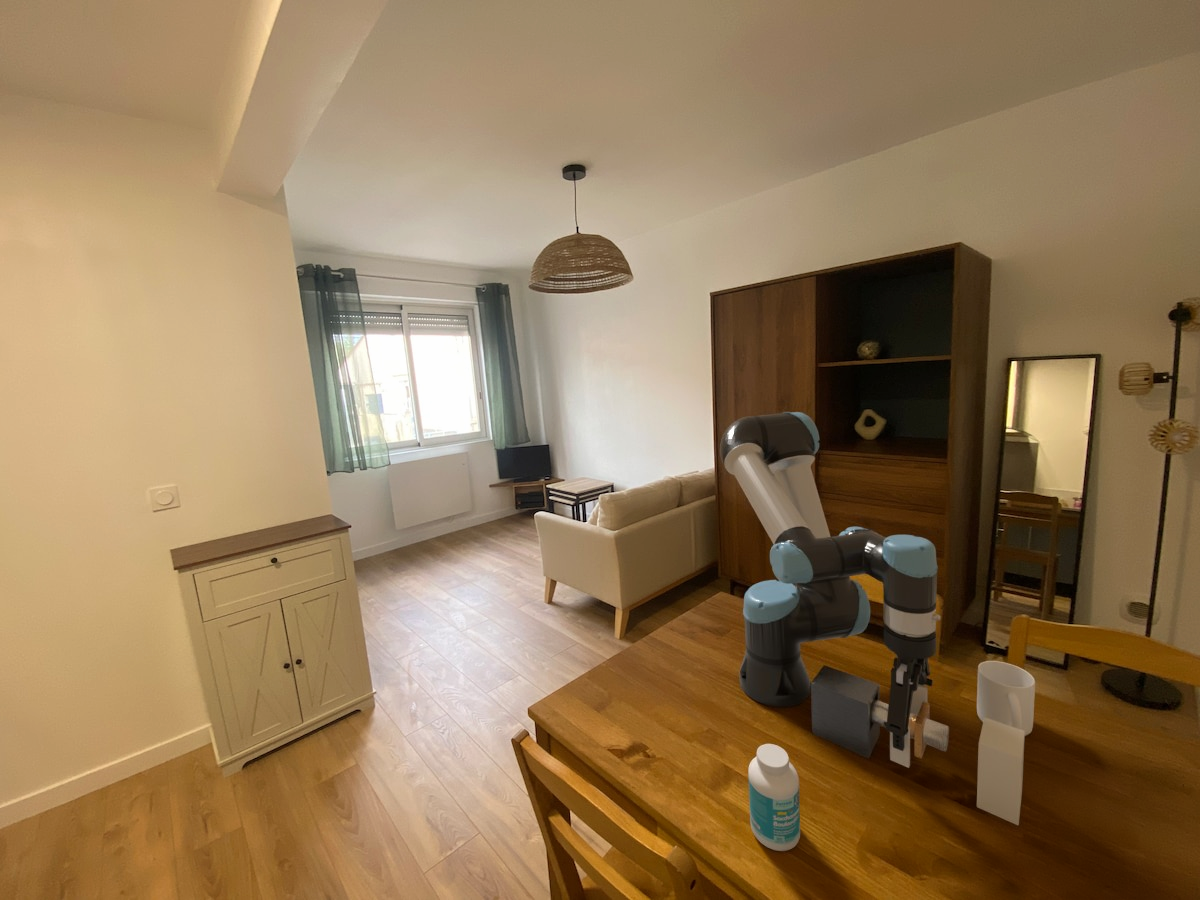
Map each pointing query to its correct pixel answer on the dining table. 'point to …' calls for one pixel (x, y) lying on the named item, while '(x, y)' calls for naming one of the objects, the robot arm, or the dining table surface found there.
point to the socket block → (1000, 770)
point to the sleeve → (844, 710)
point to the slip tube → (916, 727)
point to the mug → (1006, 695)
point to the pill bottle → (774, 798)
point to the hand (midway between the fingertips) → (909, 738)
